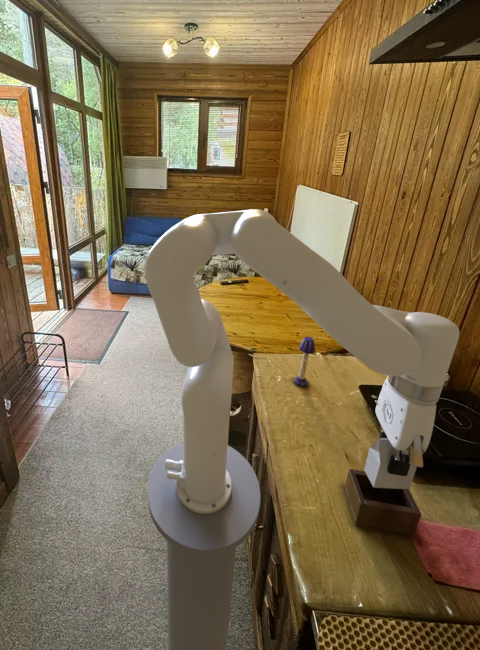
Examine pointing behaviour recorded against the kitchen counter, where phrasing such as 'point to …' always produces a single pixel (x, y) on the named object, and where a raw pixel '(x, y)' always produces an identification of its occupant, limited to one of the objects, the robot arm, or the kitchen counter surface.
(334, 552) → the kitchen counter surface
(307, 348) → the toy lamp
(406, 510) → the box
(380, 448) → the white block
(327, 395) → the kitchen counter surface
